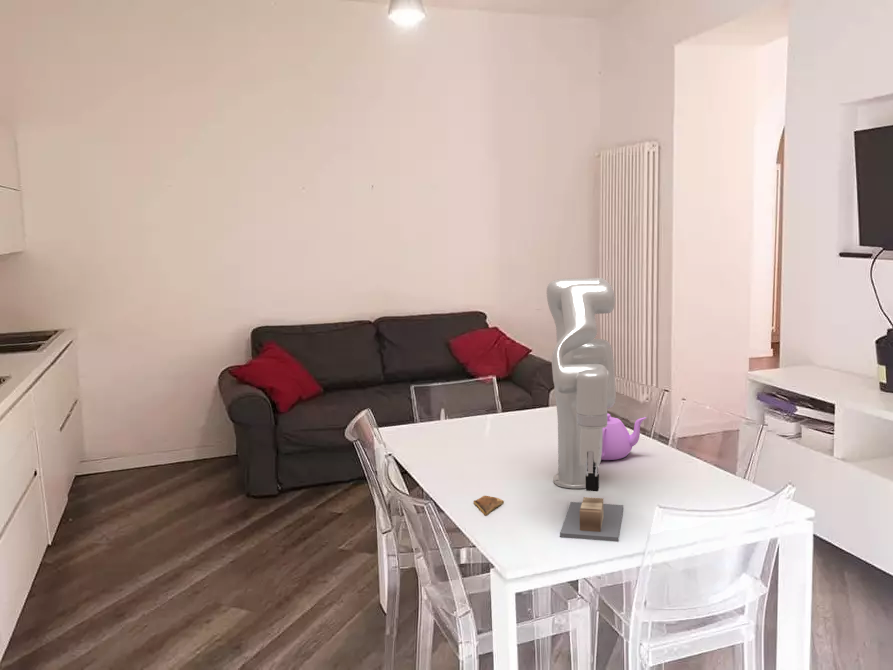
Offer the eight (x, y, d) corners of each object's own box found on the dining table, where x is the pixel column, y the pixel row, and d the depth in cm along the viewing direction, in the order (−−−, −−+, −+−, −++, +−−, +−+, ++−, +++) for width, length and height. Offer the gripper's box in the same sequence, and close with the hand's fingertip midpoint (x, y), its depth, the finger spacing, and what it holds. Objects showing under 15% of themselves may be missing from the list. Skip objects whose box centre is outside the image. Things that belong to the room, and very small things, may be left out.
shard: (486, 518, 213) (485, 511, 213) (461, 513, 217) (461, 506, 217) (505, 505, 222) (505, 498, 222) (481, 500, 226) (481, 494, 226)
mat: (570, 505, 219) (570, 501, 219) (623, 508, 215) (623, 505, 215) (560, 536, 198) (560, 533, 198) (618, 541, 194) (618, 537, 194)
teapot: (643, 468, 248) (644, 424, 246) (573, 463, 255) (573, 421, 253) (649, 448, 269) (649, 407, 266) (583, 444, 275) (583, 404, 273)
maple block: (583, 497, 208) (579, 511, 198) (603, 498, 207) (600, 512, 197) (583, 515, 209) (579, 530, 199) (603, 516, 207) (600, 531, 198)
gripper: (579, 411, 209) (580, 479, 212) (573, 426, 195) (574, 499, 197) (609, 412, 207) (609, 481, 210) (605, 427, 193) (605, 501, 195)
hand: (592, 490), depth 204 cm, fingers closed
